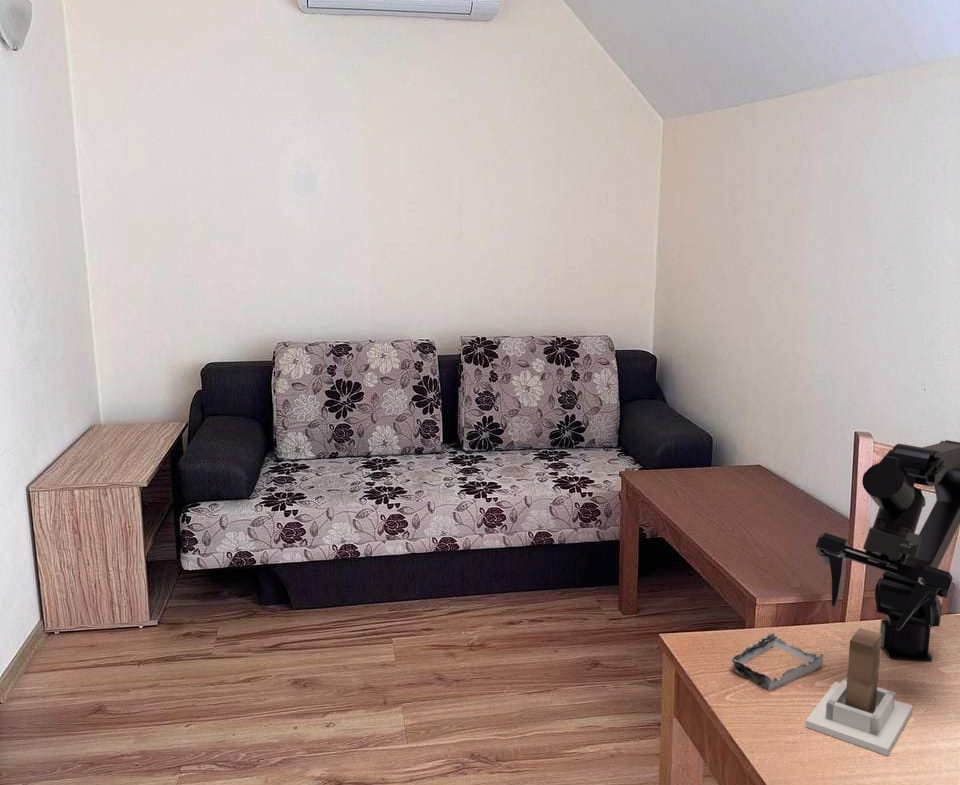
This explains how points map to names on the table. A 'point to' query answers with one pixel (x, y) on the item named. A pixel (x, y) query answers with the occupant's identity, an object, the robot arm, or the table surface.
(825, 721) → the white recessed tray
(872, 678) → the walnut block
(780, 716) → the table surface
